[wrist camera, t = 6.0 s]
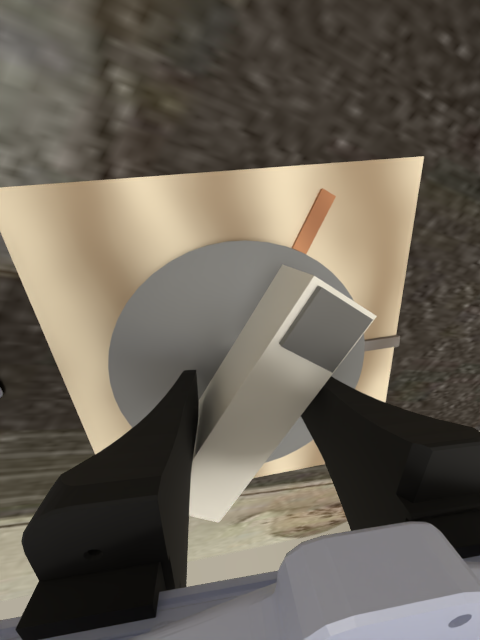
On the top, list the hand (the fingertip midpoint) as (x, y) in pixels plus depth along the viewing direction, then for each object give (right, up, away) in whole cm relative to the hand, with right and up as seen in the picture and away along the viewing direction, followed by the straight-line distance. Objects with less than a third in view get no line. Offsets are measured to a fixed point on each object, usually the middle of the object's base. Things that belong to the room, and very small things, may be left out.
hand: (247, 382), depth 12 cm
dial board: (0, +1, +4) cm, 4 cm away
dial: (0, +1, +2) cm, 2 cm away
